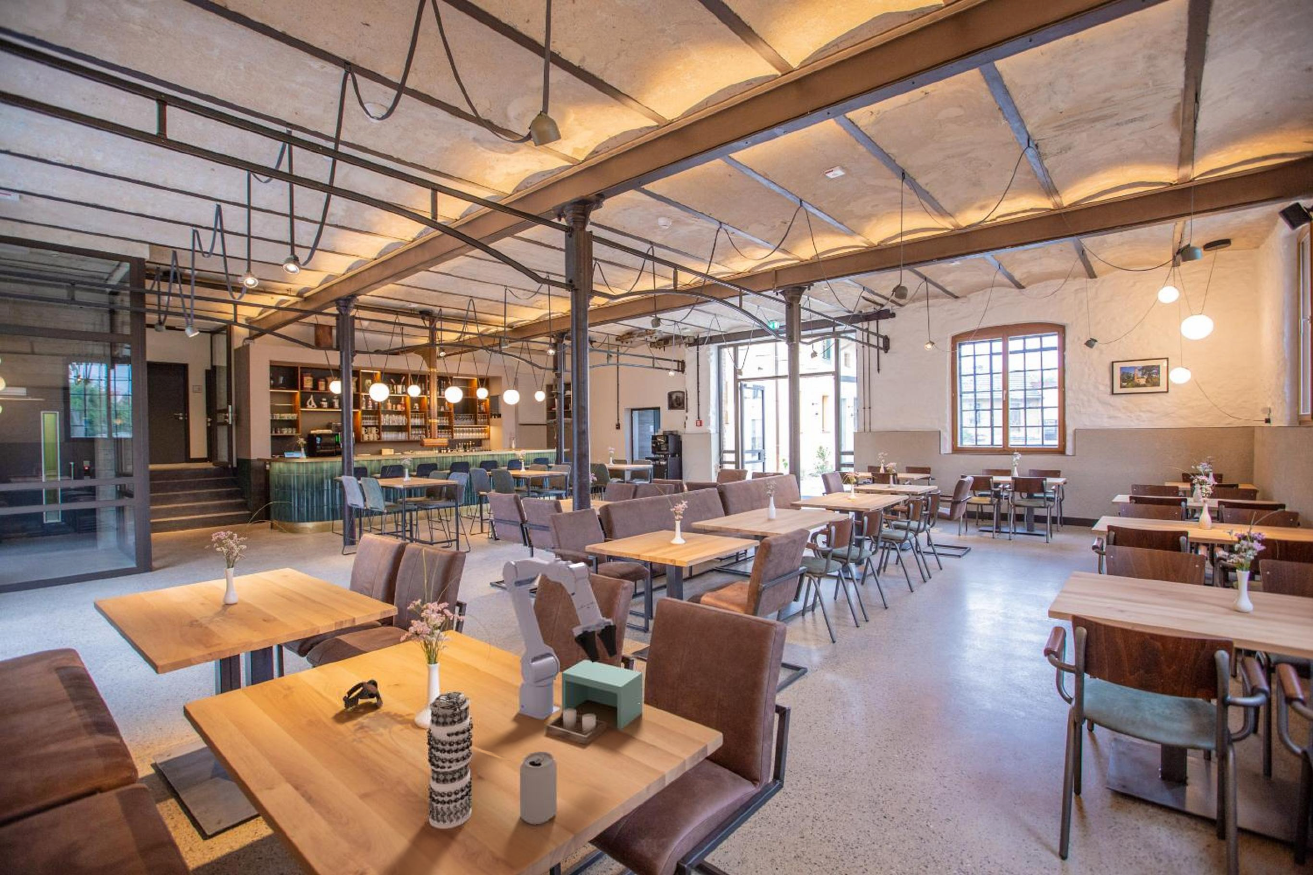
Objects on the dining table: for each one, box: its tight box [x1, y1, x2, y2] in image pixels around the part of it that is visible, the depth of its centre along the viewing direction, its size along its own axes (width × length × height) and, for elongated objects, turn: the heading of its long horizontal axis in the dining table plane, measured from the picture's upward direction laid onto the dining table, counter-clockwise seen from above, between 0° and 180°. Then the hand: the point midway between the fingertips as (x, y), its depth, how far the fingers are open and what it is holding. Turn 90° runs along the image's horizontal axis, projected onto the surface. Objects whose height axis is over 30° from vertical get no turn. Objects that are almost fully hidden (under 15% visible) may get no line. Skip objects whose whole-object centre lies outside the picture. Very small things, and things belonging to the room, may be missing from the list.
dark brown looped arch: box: [342, 678, 384, 710], centre depth 176 cm, size 12×10×8 cm
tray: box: [545, 713, 607, 746], centre depth 160 cm, size 13×9×2 cm
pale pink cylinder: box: [582, 713, 597, 735], centre depth 159 cm, size 4×4×4 cm
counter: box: [561, 659, 643, 730], centre depth 170 cm, size 20×11×12 cm, turn 60°
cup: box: [562, 708, 577, 729], centre depth 163 cm, size 4×4×4 cm
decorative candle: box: [426, 691, 474, 830], centre depth 126 cm, size 9×9×25 cm
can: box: [519, 751, 558, 825], centre depth 126 cm, size 8×8×12 cm
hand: (605, 658), depth 152 cm, fingers open, 7 cm apart
